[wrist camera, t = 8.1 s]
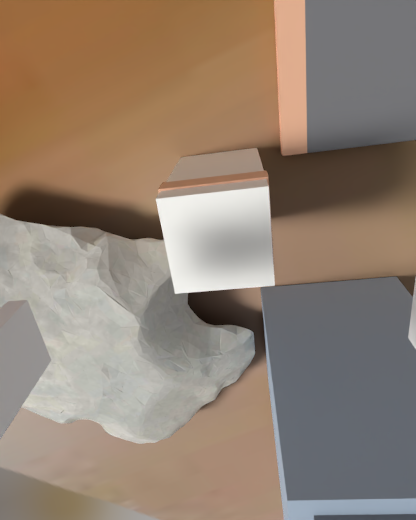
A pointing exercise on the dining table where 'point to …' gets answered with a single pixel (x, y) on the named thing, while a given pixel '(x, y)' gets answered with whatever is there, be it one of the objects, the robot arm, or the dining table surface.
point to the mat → (345, 73)
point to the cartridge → (218, 222)
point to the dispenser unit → (343, 398)
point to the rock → (115, 331)
